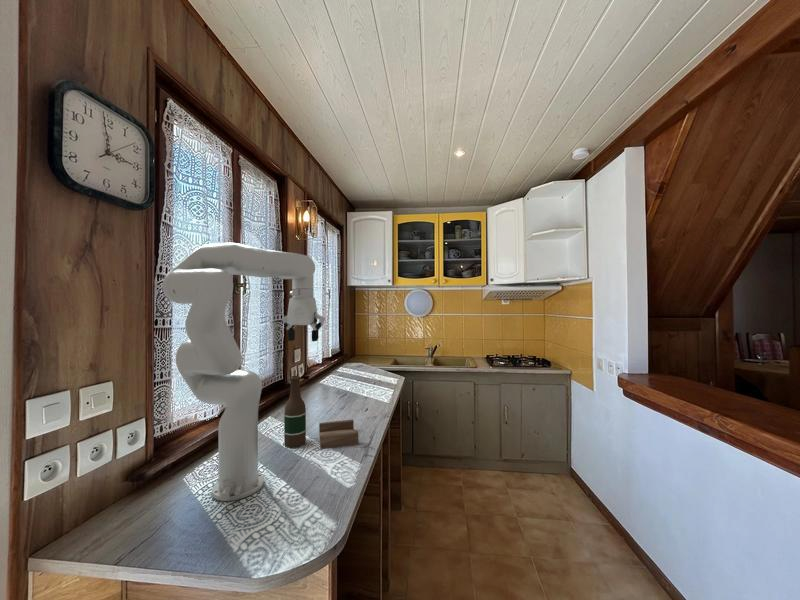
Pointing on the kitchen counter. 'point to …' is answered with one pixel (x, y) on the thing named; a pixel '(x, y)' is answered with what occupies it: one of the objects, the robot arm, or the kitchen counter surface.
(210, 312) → the robot arm
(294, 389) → the beer bottle
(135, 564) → the kitchen counter surface
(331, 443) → the block
